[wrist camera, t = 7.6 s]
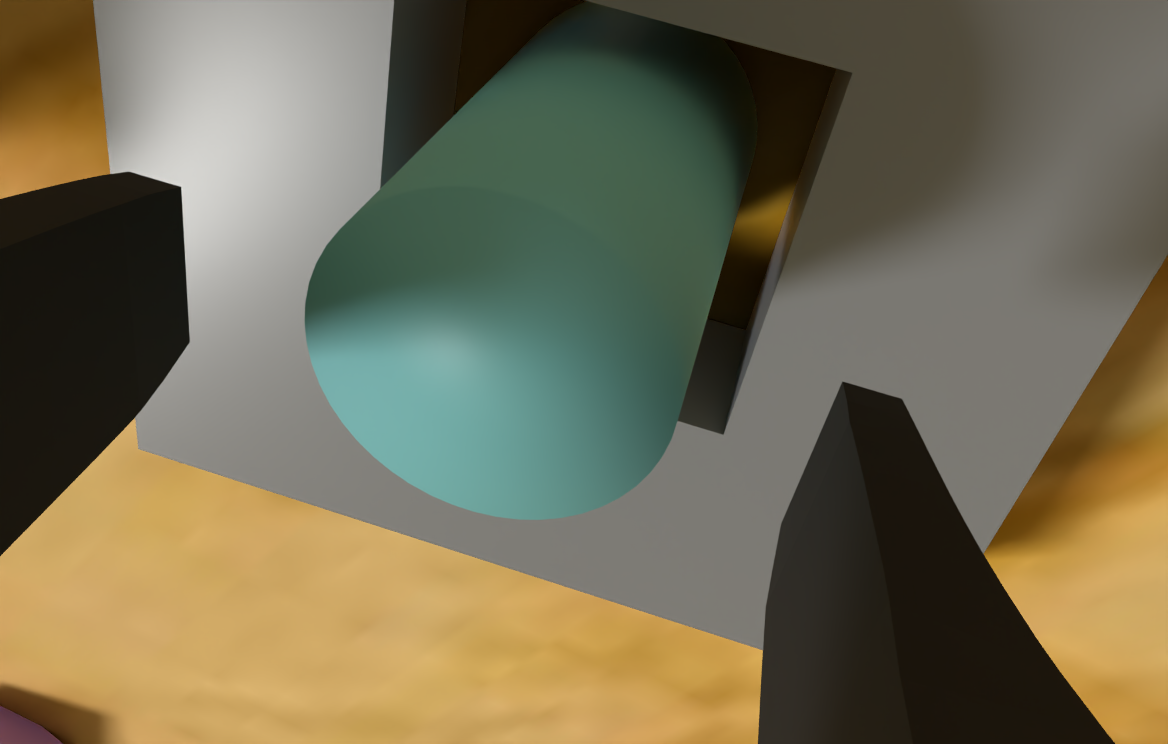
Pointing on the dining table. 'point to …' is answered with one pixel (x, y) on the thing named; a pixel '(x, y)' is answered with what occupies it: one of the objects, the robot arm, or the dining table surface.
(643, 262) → the peg
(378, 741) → the dining table surface
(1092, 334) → the socket
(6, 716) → the figurine
